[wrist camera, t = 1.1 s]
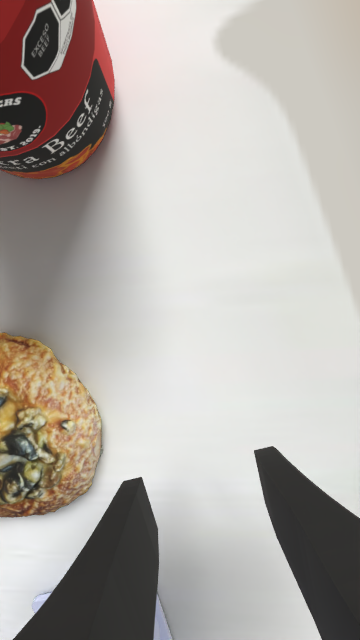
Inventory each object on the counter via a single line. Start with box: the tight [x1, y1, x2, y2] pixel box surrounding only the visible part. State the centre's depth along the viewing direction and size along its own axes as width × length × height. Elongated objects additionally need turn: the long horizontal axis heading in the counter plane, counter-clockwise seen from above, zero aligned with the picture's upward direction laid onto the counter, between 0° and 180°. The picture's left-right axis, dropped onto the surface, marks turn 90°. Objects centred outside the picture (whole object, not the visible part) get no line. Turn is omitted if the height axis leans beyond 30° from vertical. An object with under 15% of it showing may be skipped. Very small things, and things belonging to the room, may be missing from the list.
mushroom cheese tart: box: [0, 333, 103, 517], centre depth 17 cm, size 11×11×5 cm
